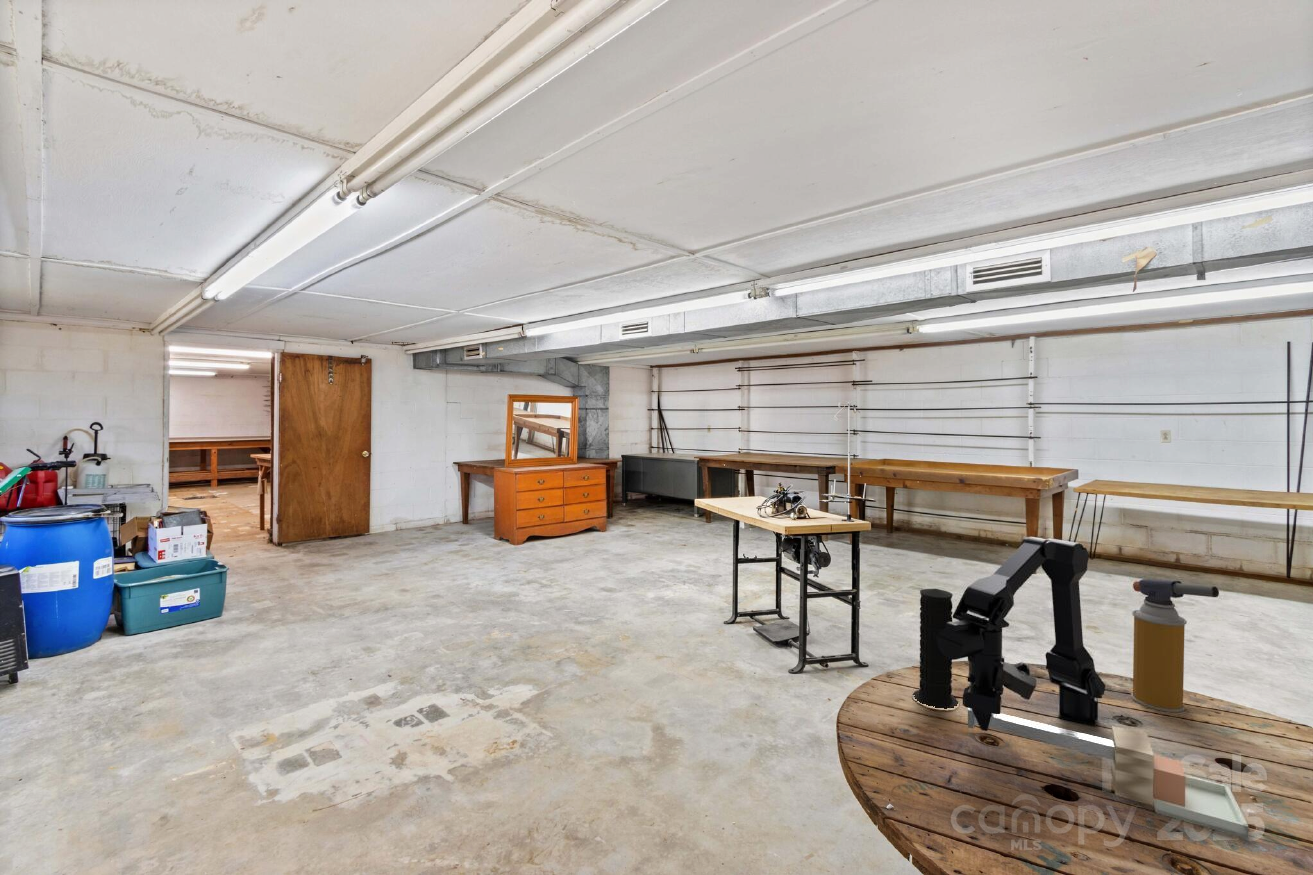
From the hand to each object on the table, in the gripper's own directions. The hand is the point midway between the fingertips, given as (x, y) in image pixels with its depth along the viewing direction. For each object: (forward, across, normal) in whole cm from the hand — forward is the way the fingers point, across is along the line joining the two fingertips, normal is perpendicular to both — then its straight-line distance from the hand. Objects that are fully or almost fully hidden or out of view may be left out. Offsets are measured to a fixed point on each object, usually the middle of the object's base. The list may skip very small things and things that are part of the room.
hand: (984, 727), depth 115 cm
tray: (+4, 0, -31) cm, 31 cm away
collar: (+4, 0, -28) cm, 28 cm away
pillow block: (+4, 0, -23) cm, 23 cm away
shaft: (0, 0, -10) cm, 10 cm away
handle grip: (+4, +16, +11) cm, 20 cm away
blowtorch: (+4, +41, -34) cm, 53 cm away
